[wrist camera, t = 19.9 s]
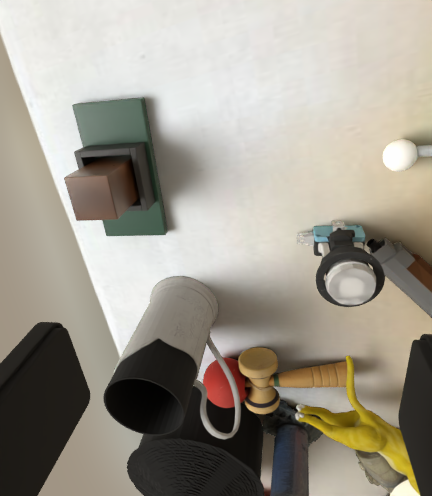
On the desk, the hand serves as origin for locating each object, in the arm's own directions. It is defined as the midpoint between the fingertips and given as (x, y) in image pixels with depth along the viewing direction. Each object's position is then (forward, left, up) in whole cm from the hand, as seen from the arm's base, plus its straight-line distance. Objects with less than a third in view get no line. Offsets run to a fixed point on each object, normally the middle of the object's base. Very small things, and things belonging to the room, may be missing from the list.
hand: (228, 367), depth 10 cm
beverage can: (+39, +2, -28) cm, 48 cm away
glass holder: (+21, -9, -28) cm, 37 cm away
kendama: (+28, 0, -28) cm, 40 cm away
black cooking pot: (+42, -11, -28) cm, 52 cm away
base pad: (+2, -15, -28) cm, 32 cm away
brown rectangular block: (+2, -15, -27) cm, 31 cm away
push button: (+10, +6, -28) cm, 31 cm away
